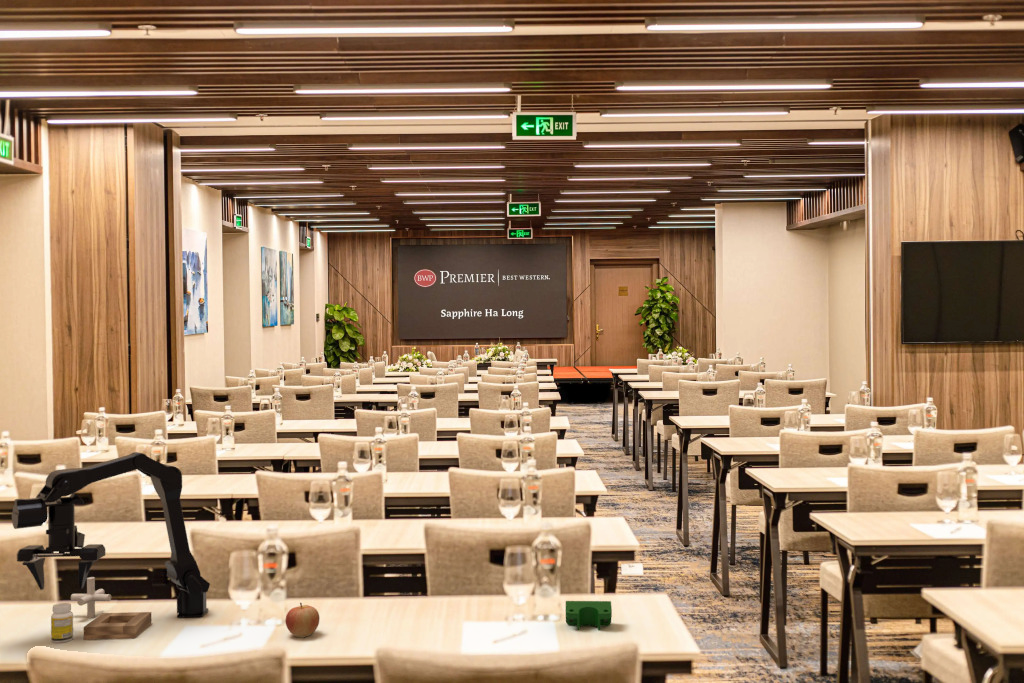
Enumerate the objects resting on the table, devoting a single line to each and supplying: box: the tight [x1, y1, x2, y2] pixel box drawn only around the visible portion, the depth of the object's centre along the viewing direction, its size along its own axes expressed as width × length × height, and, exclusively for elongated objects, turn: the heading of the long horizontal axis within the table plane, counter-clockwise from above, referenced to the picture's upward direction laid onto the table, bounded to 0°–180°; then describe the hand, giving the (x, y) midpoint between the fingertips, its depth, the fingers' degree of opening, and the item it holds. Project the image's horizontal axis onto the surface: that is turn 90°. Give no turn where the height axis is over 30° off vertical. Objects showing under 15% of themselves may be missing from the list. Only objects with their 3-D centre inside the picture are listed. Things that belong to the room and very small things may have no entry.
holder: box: [83, 611, 152, 640], centre depth 235 cm, size 12×12×3 cm
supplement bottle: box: [50, 602, 74, 644], centre depth 228 cm, size 5×5×8 cm
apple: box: [285, 602, 320, 638], centre depth 230 cm, size 8×8×8 cm
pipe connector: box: [70, 576, 112, 619], centre depth 248 cm, size 10×10×10 cm
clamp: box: [565, 600, 613, 631], centre depth 234 cm, size 12×6×9 cm, turn 80°
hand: (61, 589), depth 229 cm, fingers open, 9 cm apart
